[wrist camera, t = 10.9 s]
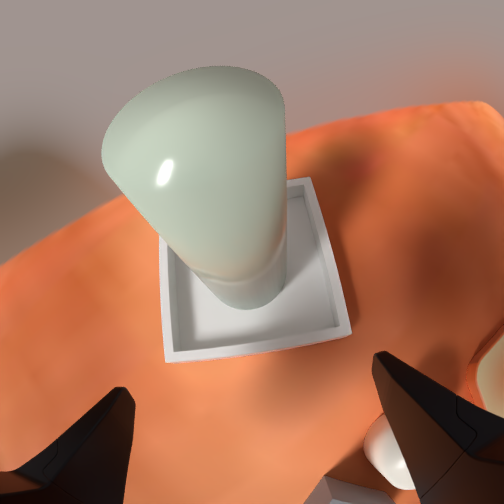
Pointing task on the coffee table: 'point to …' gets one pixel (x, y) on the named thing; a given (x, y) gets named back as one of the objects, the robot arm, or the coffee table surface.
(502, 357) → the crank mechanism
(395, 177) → the coffee table surface
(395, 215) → the coffee table surface
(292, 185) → the white tray
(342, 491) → the grey block
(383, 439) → the white rounded cylinder
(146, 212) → the pale green cylinder
